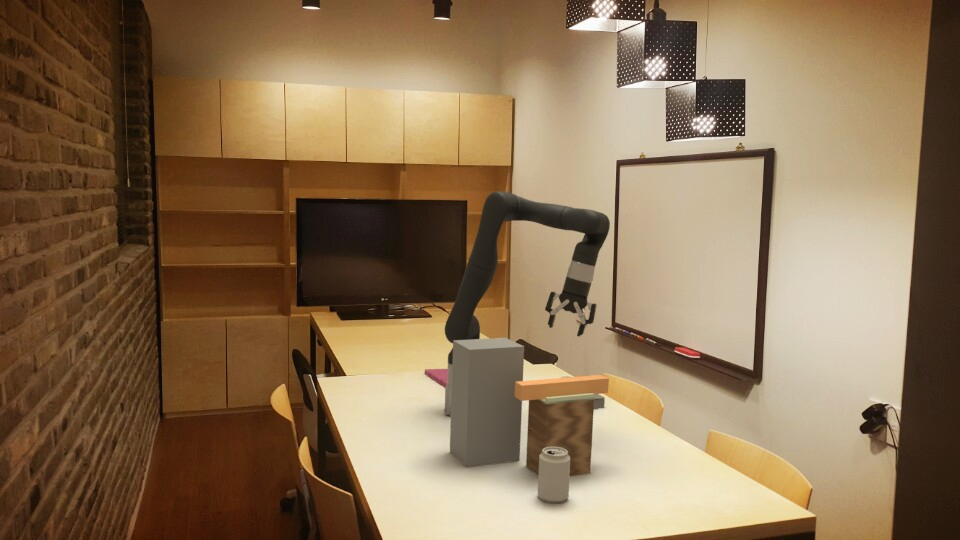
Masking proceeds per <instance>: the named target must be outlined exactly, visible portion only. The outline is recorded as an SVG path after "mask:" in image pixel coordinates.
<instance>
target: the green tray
mask: <svg viewBox="0 0 960 540" xmlns="http://www.w3.org/2000/svg"><path fill="white" fill-rule="evenodd" d="M539 400H541V401H542V402H544V403H546V404H555V403H565V402H575V401H586V400H594V394H593V393H588V394H577V395H566V396H555V397H545V399H539Z"/></svg>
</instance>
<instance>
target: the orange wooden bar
mask: <svg viewBox="0 0 960 540" xmlns="http://www.w3.org/2000/svg"><path fill="white" fill-rule="evenodd" d="M609 380H610V379H609V378H608V377H606V376H604V375H602V374H594V375H593V374H592V375H581V376H568V377H567V378H561V377H556V378H555V377H554V378H545V379H533V380H523V381H518V382H515V397H516V398H517V399H519V400H521V401H522V402H524V401H525V402H526V401H529V400H537V399H545V397H555V396H566V395H577V394H588V393H593V394H599V395H601V394H608V393H609Z"/></svg>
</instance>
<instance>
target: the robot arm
mask: <svg viewBox="0 0 960 540" xmlns="http://www.w3.org/2000/svg"><path fill="white" fill-rule="evenodd" d="M479 220H480V221H479V225H478V229H477V232H476V233H477V234H476V236H475V240H474V243H473V246H472V249H471V253H470V255H469V257H468V258H469V259H468V261H467V264H466V267H465V270H464V274H463V277H462V280H461V283H460V286H459V289H458V292H457V296H456V298H455V301H454V303H453V306H452V308H451V311H450V313H449V315H448V317H447V319H446V322H445V325H444V335H445V337H446V340H447V341H448V342H449V343H451V344H453V340H472V339H481V325H480V322H479V320H478V318H477V317H476V316H475V314H474V313H475V311H476V309H477V306H478V304H479V303H480V301H481V300H482V299H483V298H484V295H485V294H486V293H487V291H488V289H489V288H490V286H491V284H492V282H493V279H494V276H495V273H496V270H497V267H498V262H499V256H498V255H499V254H498V253H499V252H498V238H499V234H500V232H501V231H500V230H501V228H502V225H503V224H504V222H514V221H515V222H517V221H521V222H522V221H523V222H524V221H526V222H533V223H536V224H539V225H542V226H545V227H549V228H552V229H559V230H563V231H571V232H572V231H573V232H577V233H580V234H581V233H582V234H584V235H583V238H582V240H581V241H579V242H577V243H576V245H575V247H574V250H573V254H572V257H571V261H570V263H569V266H568V269H567V271H566V272H567V273H566V276H565V280H564V284H563V286H562V291H561V293H557V292H556V291H554V290H553V291H550V294H549V295H548V299H547V301H546V302H547V303H546V305H545V307H544V310H545V311H546V312H547V313H549V318H548V321H547V325H548V328H551V329H552V328H553V327H554V324H555V321H556V320H555V319H556V317H557V316H556V314H557V313H559V312H560V311H562V310H564V312H570V313H572V314H577V316H578V318H579V320H580V324H579V325H578V330H577V335H576V337H578V338H579V337H581V336H583V334H584V333H585V329H586V326H587V325H591V324H593V323H594V322H595V321H594V320H595V316H596V311H597V303H595V302H592V303H591V302H588V297H589V294H590V290H591V286H592V282H593V280H594V275H595V268H596V265H597V261H598V257H599V253H600V251H601V249H602V247H603V245H604V243H605V241H606V239H607V237H608V234H609V232H610V227H611V225H610V224H611V223H610V222H611V221H610V219H609V217H608V216H607V215H606V214H605V213H603V212H600V211H597V210H595V209H589V208H576V207H572V206H567V205H563V204H555V203H548V202H547V203H546V202H537V201H534V200H531V199H527V198H523V196H519V195H517V194H515V193H512V192H508V191H493V192H491V193H490V194H488V195H487V196H486V199H485V201H484V204H483V206H482V212H481V216H480V219H479ZM557 299H559V302H560V303H559V304H558V305H557V306H556V307H555V308H552V307H553V304H554V301H555V300H557ZM585 308H588V311H589V315H588V319H587V318H586V315H585V312H584V310H583V309H585ZM452 362H453V347H452V349H451V350H450V352H449V353H448V355H447V369H448V373H447V385H446V387H444V415H445V416H450V417H451V395H452Z"/></svg>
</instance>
